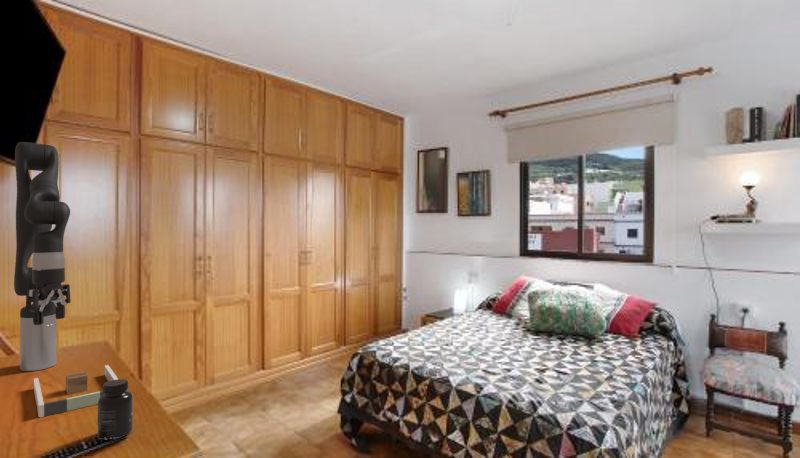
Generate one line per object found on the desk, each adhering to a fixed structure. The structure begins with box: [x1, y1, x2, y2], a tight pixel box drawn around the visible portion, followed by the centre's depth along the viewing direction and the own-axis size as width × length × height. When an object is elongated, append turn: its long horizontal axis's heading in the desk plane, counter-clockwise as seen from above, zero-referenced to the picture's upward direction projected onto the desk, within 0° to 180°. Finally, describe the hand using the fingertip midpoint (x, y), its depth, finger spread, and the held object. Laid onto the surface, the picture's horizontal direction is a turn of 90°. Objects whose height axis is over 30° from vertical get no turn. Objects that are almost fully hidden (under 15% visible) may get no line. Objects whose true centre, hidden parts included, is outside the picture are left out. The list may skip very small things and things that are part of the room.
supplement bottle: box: [96, 378, 134, 439], centre depth 97 cm, size 7×7×12 cm
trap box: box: [33, 364, 119, 418], centre depth 120 cm, size 24×18×3 cm
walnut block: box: [65, 371, 88, 396], centre depth 122 cm, size 4×4×4 cm
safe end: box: [66, 391, 100, 412], centre depth 111 cm, size 1×7×3 cm, turn 133°
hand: (49, 321), depth 126 cm, fingers open, 8 cm apart
